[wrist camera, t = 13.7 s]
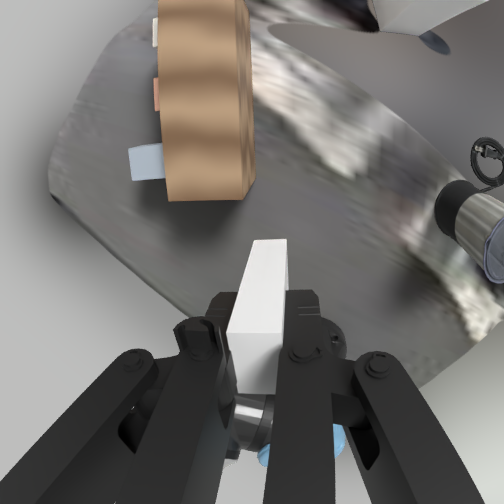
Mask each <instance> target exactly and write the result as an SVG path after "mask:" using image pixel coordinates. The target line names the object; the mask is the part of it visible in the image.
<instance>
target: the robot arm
mask: <svg viewBox="0 0 504 504" xmlns="http://www.w3.org/2000/svg"><path fill="white" fill-rule="evenodd" d="M173 331H174V334H175V337H176V340H177V343H178V346H179V349H180V352H179V354H178V355H176V356H172V357H167V358H160V359H154V358H153V356H152V354H151V353H150V352H149V351H147V350H145V349H131V350H128V351H126V352H124V353H122V354H121V355H120V356H118V357H117V358H116V359H115V360H114V361H113V362H112V363H111V364H110V365H109V366H108V367H107V368H106V369H105V371H103V373H102V374H101V375H100V376H99V377H98V378H97V379H96V380H95V381H94V382H93V383H92V384H91V385H90V386H89V387H88V388H87V389H86V390H85V391H84V392H83V393H82V394H81V395H80V396H79V397H78V398H77V399H76V400H75V401H74V403H73V404H72V405H71V406H70V407H69V408H68V409H67V410H66V411H65V412H64V413H63V414H62V415H61V416H60V417H59V418H58V419H57V420H56V422H54V424H53V425H52V426H51V427H50V428H49V429H48V430H47V431H46V432H45V433H44V434H43V435H42V437H40V438H39V440H38V441H37V442H36V443H35V444H34V445H33V446H32V447H31V448H30V449H29V451H28V452H27V453H26V454H25V455H24V456H23V457H22V458H21V459H20V460H19V461H18V463H17V464H16V465H15V466H14V467H13V468H12V469H11V470H10V471H9V473H8V474H7V475H6V476H5V477H4V478H3V479H2V480H1V481H0V504H114V503H115V502H116V503H115V504H215V502H216V497H217V493H218V488H219V483H220V479H221V475H222V471H223V469H224V468H225V467H227V466H229V465H231V464H233V463H235V462H237V460H238V457H239V454H240V450H241V449H245V450H248V451H253V452H258V455H257V456H258V457H257V458H258V459H259V462H260V464H261V465H263V466H267V475H266V483H265V490H264V498H263V504H335V458H336V457H337V456H338V455H339V454H340V453H341V452H342V450H343V449H344V446H345V435H346V437H347V440H348V442H349V445H350V447H351V450H352V453H353V455H354V458H355V460H356V463H357V466H358V468H359V471H360V473H361V476H362V479H363V481H364V484H365V487H366V489H367V492H368V495H369V497H370V500H371V503H372V504H485V503H484V501H483V499H482V497H481V495H480V493H479V491H478V489H477V488H476V485H475V484H474V482H473V480H472V478H471V476H470V475H469V473H468V471H467V469H466V467H465V465H464V464H463V462H462V460H461V458H460V457H459V455H458V453H457V451H456V450H455V448H454V446H453V445H452V443H451V441H450V439H449V438H448V436H447V435H446V433H445V431H444V430H443V428H442V426H441V425H440V423H439V421H438V420H437V418H436V417H435V415H434V414H433V412H432V410H431V409H430V407H429V405H428V404H427V402H426V401H425V399H424V398H423V396H422V395H421V393H420V391H419V390H418V388H417V387H416V385H415V384H414V382H413V381H412V379H411V378H410V376H409V375H408V373H407V372H406V370H405V369H404V367H403V366H402V364H401V363H400V362H399V361H398V360H397V359H396V358H395V357H394V356H393V355H390V354H388V353H386V352H380V351H374V352H368V353H366V354H364V355H361V356H360V357H359V358H358V359H357V360H356V361H352V360H346V359H345V357H346V352H347V347H346V341H345V336H344V334H343V332H342V330H341V329H340V328H339V327H338V326H337V325H336V324H335V323H333V322H331V321H330V320H327V319H325V318H322V317H321V315H320V307H319V299H318V296H317V295H316V294H315V293H314V291H313V290H289V288H288V263H287V241H286V239H276V240H254V243H253V246H252V249H251V252H250V256H249V259H248V262H247V266H246V269H245V272H244V275H243V279H242V282H241V285H240V289H239V292H220V293H219V294H217V295H216V296H215V297H214V298H213V299H212V300H211V303H210V305H209V307H208V310H207V312H206V314H205V317H203V316H200V317H192V318H189V319H185V320H183V321H182V322H180V323H179V324H177V326H176V327H175V328H174V329H173ZM133 407H134V408H133ZM132 408H133V409H132ZM131 409H132V410H131Z"/></svg>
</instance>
